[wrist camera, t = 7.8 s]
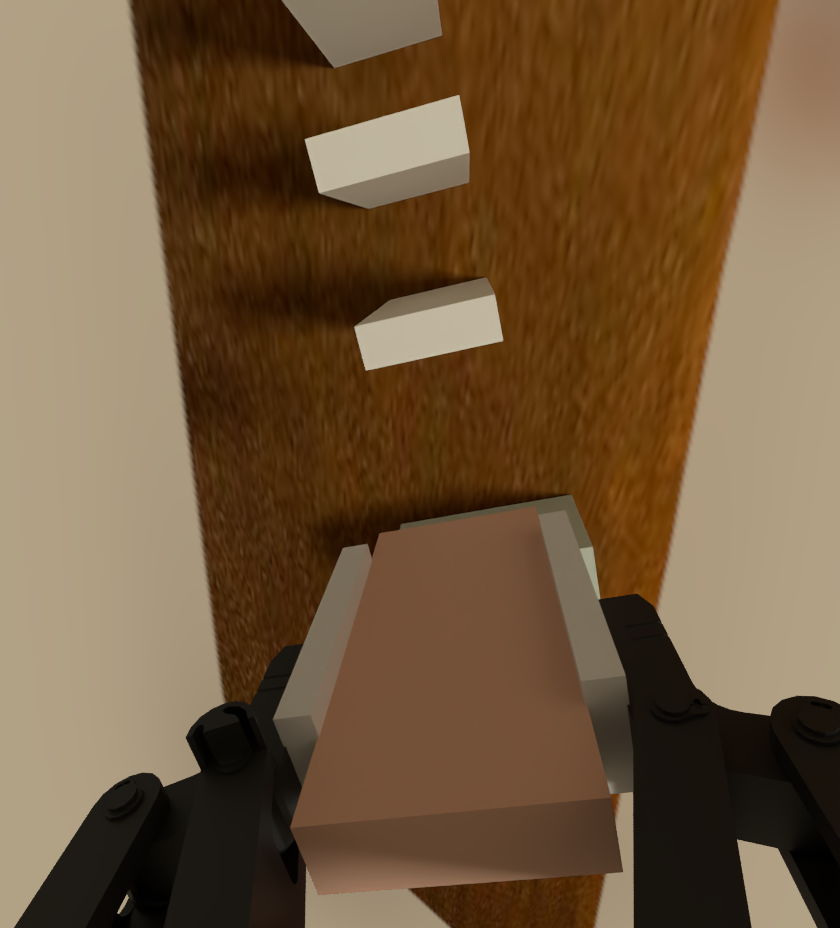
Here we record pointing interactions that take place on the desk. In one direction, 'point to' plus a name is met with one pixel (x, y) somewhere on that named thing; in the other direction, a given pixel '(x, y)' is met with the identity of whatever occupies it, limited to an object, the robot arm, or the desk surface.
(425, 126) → the domino
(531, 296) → the desk surface
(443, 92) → the desk surface
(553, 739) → the domino
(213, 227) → the desk surface
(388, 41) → the domino
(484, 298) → the domino
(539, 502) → the end block
